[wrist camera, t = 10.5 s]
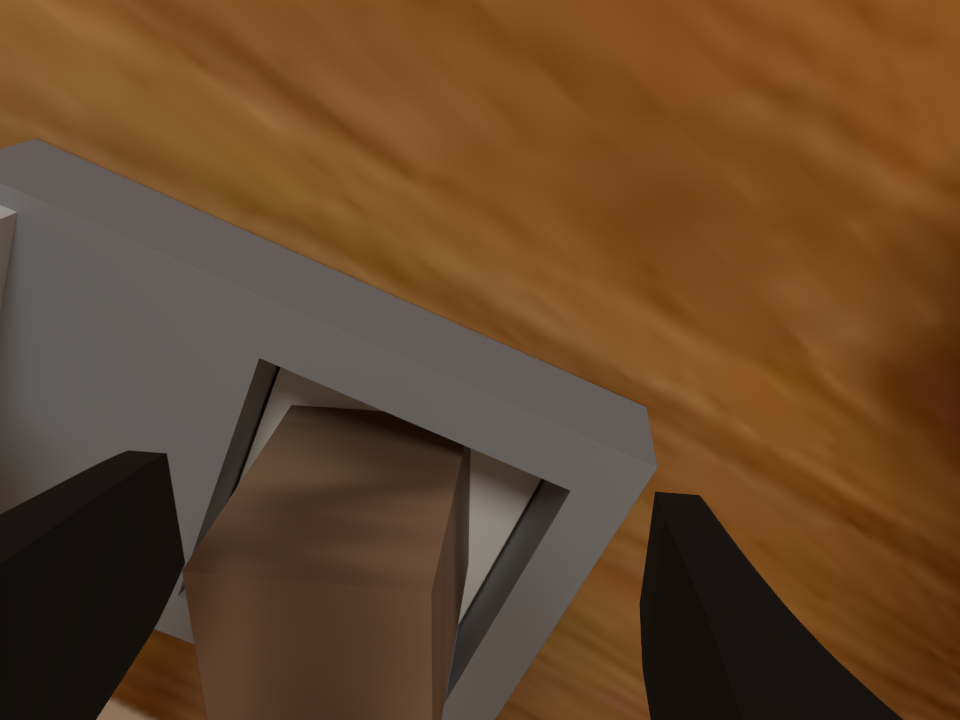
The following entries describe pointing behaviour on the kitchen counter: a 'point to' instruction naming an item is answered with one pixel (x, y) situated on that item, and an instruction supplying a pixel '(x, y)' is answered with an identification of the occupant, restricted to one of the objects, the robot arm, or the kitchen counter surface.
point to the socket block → (290, 392)
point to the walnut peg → (334, 573)
